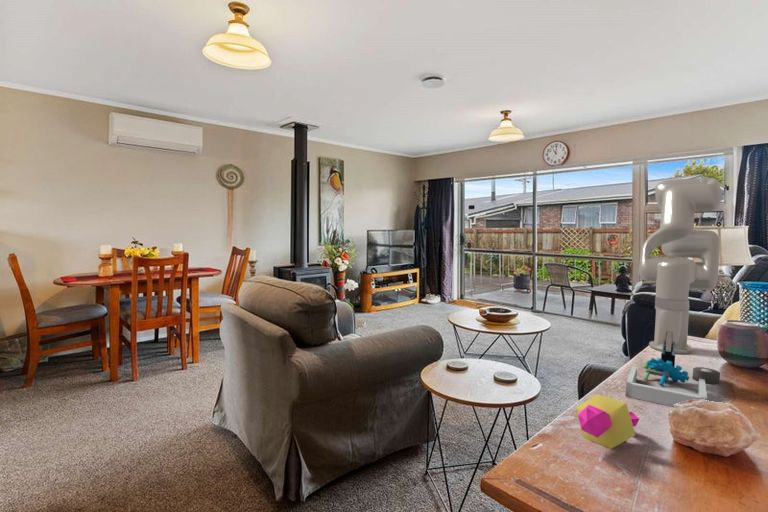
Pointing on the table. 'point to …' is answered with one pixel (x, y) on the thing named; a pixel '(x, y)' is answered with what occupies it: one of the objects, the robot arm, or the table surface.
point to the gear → (665, 371)
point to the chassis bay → (660, 391)
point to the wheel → (706, 375)
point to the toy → (606, 421)
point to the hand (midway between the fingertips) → (667, 367)
